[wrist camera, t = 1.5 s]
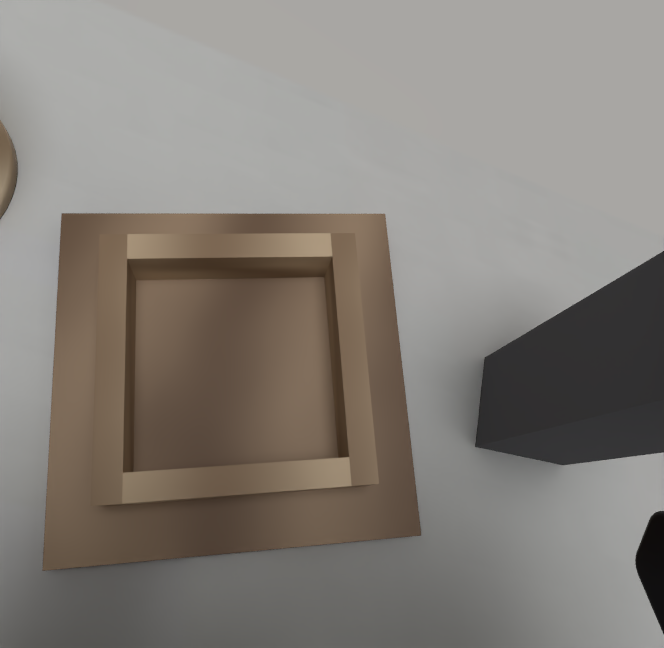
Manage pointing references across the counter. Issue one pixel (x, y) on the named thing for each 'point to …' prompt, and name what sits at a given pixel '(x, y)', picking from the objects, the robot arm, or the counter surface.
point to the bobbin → (6, 169)
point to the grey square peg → (583, 378)
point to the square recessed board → (224, 388)
